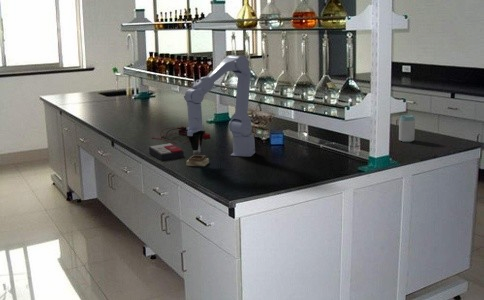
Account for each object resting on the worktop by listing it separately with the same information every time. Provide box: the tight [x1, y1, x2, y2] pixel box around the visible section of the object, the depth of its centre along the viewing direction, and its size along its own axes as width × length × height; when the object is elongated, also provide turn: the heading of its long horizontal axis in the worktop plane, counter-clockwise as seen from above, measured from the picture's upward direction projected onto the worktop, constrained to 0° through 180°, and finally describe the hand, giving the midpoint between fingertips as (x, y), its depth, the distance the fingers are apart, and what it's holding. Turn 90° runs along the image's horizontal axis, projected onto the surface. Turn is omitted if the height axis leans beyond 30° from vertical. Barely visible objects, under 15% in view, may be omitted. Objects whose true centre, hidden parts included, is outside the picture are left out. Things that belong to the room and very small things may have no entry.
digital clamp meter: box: [151, 126, 211, 145], centre depth 290 cm, size 23×4×25 cm
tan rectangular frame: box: [185, 154, 210, 167], centre depth 238 cm, size 8×6×3 cm
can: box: [398, 114, 416, 143], centre depth 264 cm, size 7×7×12 cm
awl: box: [192, 138, 201, 155], centre depth 237 cm, size 3×3×6 cm
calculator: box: [148, 143, 185, 161], centre depth 256 cm, size 11×4×15 cm
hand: (196, 149), depth 237 cm, fingers closed on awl, 3 cm apart
